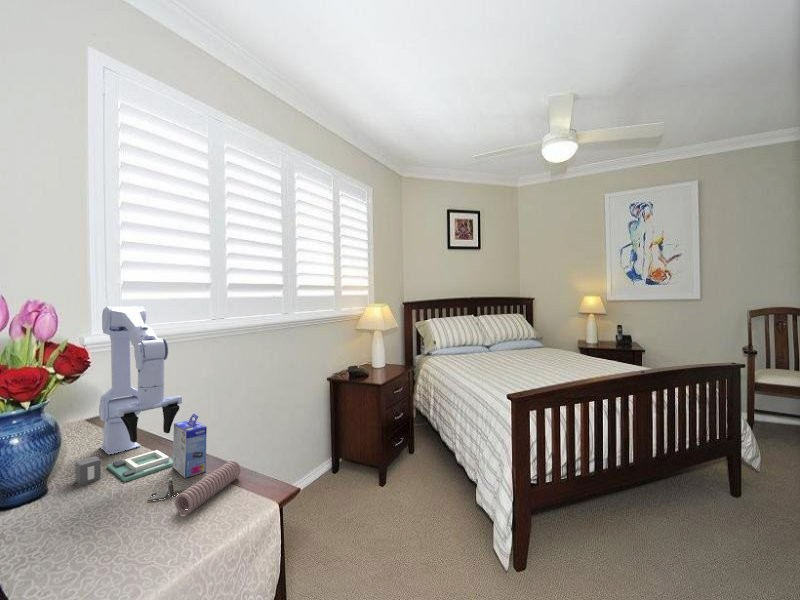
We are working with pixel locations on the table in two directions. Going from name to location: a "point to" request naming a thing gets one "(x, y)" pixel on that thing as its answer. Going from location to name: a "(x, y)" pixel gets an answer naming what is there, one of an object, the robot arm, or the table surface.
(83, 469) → the plug
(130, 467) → the board
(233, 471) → the coil
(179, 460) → the ink cartridge box
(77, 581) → the table surface
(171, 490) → the strap clip
